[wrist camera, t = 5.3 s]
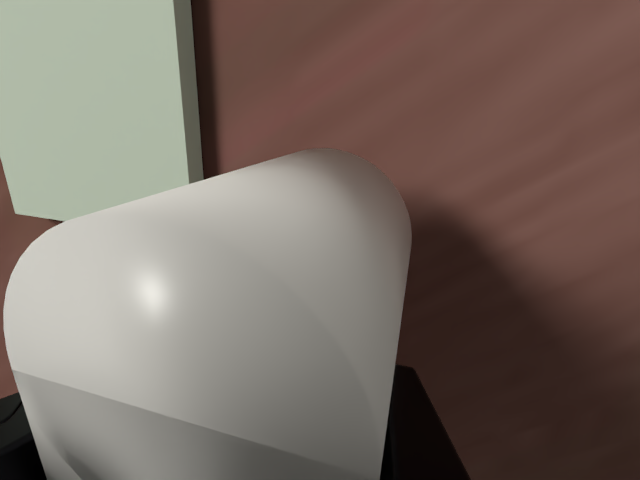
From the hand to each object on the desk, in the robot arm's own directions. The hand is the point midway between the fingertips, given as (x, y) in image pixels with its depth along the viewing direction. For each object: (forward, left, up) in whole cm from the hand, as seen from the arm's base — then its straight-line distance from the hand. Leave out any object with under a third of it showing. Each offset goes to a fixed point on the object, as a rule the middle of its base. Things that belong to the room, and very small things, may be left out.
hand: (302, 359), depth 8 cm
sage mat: (+7, +9, -4) cm, 12 cm away
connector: (-1, 0, -1) cm, 2 cm away
